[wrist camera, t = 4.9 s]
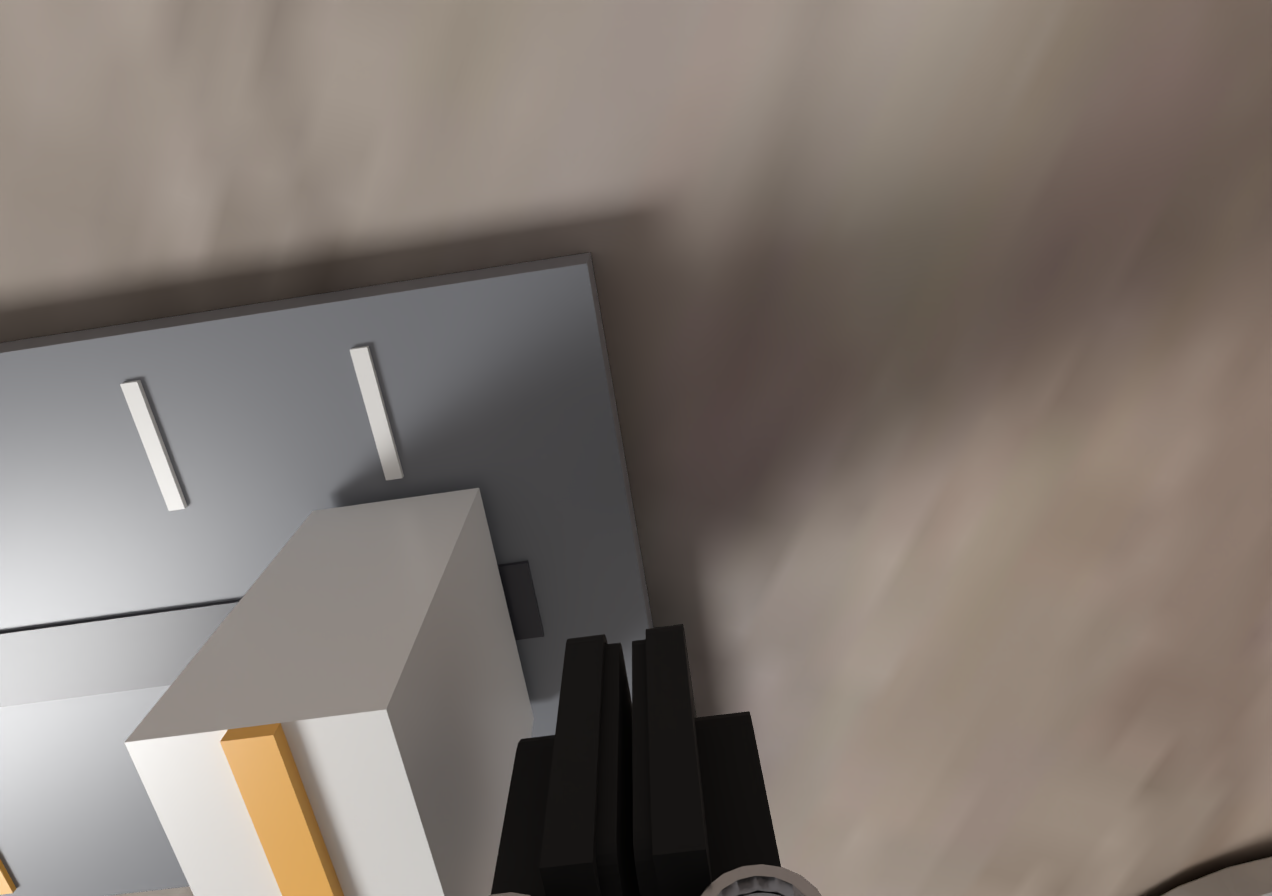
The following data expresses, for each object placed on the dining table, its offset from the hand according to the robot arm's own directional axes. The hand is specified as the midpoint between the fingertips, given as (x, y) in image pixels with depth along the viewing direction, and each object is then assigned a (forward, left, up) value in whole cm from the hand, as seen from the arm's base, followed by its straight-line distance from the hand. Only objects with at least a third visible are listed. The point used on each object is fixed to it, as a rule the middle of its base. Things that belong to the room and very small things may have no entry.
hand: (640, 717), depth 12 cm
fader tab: (+4, 0, -4) cm, 6 cm away
